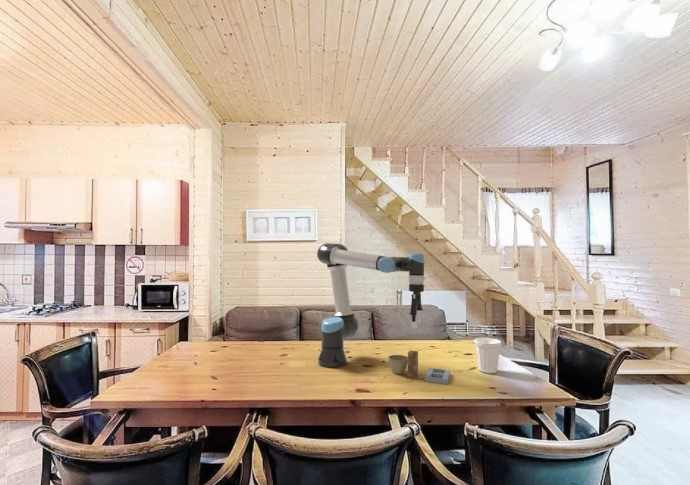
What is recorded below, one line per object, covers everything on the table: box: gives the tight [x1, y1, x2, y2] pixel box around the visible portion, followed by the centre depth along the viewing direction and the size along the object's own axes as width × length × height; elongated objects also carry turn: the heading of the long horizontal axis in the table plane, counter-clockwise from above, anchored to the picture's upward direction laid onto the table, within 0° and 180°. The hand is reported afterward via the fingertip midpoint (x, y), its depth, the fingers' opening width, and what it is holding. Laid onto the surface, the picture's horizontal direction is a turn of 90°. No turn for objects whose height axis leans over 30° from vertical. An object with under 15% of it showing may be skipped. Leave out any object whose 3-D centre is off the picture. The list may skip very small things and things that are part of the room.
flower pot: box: [387, 354, 408, 375], centre depth 176 cm, size 10×10×7 cm
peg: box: [407, 350, 419, 380], centre depth 170 cm, size 4×4×12 cm
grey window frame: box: [424, 367, 451, 385], centre depth 169 cm, size 10×14×2 cm
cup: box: [474, 337, 502, 375], centre depth 179 cm, size 12×12×15 cm
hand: (416, 325), depth 182 cm, fingers open, 13 cm apart
